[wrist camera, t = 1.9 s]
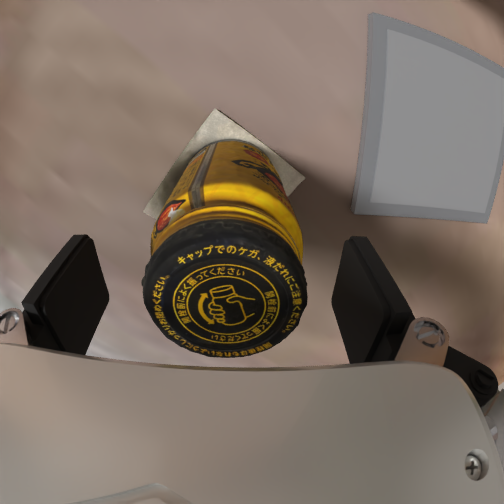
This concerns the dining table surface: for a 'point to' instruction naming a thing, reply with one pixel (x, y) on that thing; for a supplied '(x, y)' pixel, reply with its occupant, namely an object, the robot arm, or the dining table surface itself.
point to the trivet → (428, 127)
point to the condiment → (225, 246)
